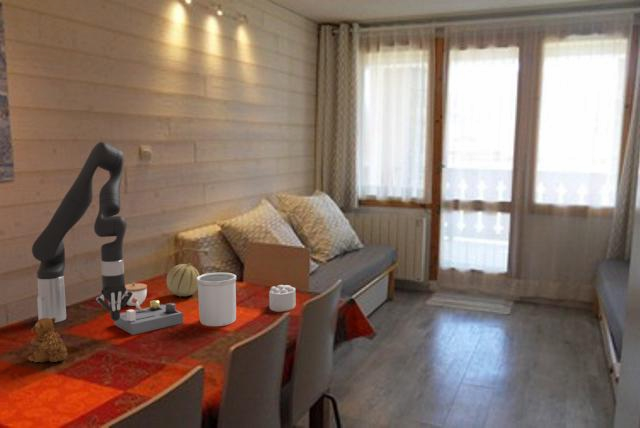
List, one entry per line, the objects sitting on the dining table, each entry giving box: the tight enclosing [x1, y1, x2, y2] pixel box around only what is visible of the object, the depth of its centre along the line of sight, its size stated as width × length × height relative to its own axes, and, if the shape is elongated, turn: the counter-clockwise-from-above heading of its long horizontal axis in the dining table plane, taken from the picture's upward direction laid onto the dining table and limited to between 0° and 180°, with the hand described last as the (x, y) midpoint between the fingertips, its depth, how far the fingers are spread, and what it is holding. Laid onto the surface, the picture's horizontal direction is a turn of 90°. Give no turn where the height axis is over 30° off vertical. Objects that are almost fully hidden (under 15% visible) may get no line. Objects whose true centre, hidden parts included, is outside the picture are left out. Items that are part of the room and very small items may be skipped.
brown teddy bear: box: [27, 318, 68, 363], centre depth 175 cm, size 10×14×13 cm
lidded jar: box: [121, 281, 148, 307], centre depth 239 cm, size 11×11×9 cm
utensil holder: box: [197, 272, 237, 327], centre depth 213 cm, size 15×15×18 cm
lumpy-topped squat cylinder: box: [268, 284, 297, 313], centre depth 232 cm, size 10×13×9 cm
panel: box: [114, 304, 184, 336], centre depth 211 cm, size 20×16×4 cm
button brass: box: [149, 299, 161, 310], centre depth 216 cm, size 4×4×3 cm
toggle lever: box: [132, 298, 142, 311], centre depth 212 cm, size 2×2×6 cm
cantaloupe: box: [166, 262, 200, 297], centre depth 251 cm, size 15×15×15 cm
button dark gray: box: [164, 302, 176, 313], centre depth 212 cm, size 4×4×3 cm
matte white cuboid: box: [126, 309, 136, 322], centre depth 202 cm, size 2×3×4 cm, turn 42°
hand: (115, 320), depth 198 cm, fingers closed
